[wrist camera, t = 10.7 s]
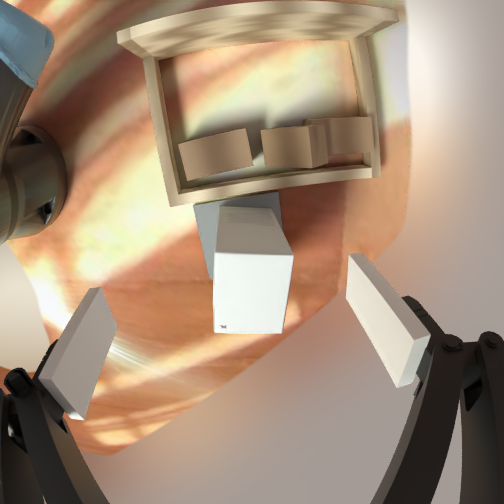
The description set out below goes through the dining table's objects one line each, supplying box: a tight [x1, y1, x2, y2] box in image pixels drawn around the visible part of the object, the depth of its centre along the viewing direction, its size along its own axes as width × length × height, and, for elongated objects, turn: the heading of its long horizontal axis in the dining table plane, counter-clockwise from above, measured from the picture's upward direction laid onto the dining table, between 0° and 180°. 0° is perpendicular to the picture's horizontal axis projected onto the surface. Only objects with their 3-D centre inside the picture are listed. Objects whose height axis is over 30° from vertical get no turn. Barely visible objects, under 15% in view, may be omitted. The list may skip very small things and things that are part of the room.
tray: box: [117, 1, 399, 207], centre depth 25 cm, size 24×18×10 cm
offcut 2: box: [260, 125, 328, 168], centre depth 29 cm, size 6×4×3 cm
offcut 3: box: [304, 117, 374, 155], centre depth 30 cm, size 7×4×4 cm, turn 98°
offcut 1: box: [178, 128, 253, 181], centre depth 30 cm, size 7×4×4 cm, turn 101°
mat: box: [193, 191, 283, 280], centre depth 36 cm, size 10×10×1 cm
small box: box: [213, 206, 294, 334], centre depth 30 cm, size 8×6×13 cm
